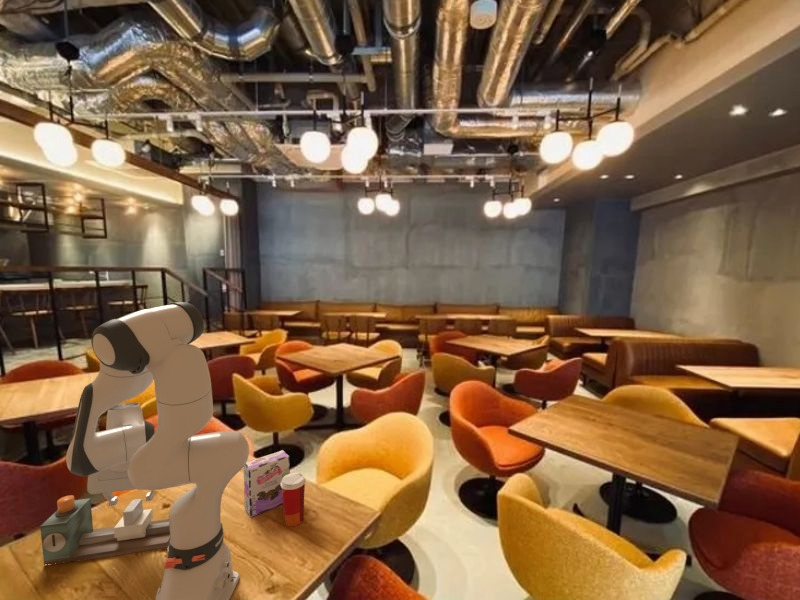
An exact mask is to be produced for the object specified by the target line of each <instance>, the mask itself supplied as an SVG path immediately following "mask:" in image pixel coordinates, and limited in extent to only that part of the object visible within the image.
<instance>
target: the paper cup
mask: <svg viewBox="0 0 800 600" xmlns="http://www.w3.org/2000/svg"><path fill="white" fill-rule="evenodd" d="M306 482H307V481H306V478H305V475H303V474H302V473H300V472H292V473H291V472H290V474H288V475H286V476H284V477H283V479H282V481H281V484H280V485H281V488H282V496H283V504H282V505H283V515H284V521H285V525H286V526H288V527H296V526H298V525H301V523H303V521H304V516H305V515H304V513H305V489H306V488H305V487H306Z"/></svg>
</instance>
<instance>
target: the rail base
mask: <svg viewBox="0 0 800 600" xmlns="http://www.w3.org/2000/svg"><path fill="white" fill-rule="evenodd" d="M74 500H75V508H74V509H72V510H71V511H69V512H66V513H58V509H57V510H56V511H55V512H54V513H52V514H51V516H50V517H48V518H47V519H46V520H45V521H44V522H43V523H42V524H40V527H39V528H40V536H41V537H40V539H41V549H42V558H43V559H42V561H43V566H44V565H45V564H47V565H48V564H55V563H56V565H59V564H58V563H62V564H64V563H63V562H69V563H71V562H70V561H75V562H79V561H78V560H82V561H86V559H88V560H93V559H94V558H95V559H100V558H107V557H108V558H109V557H113V556H114V557H115V556H119V555H126V554H132V553H139V552H146V551H151V550H152V551H153V550H157V549H166V547H167V548H168V545H169V540H170V527H169V518H167V519H166V518H165V519H160V520H153V521H152V520H151V524H150V525H148V526H147V528H146V536H145V537H141V538H134V539H128V540H121V541H117V538H115V536H114V527H115V526H111V527H101V528H95V529H94V525H93V524H94V522H93V513H92V502H91V501H92V500H91V497H90V498H83V499H82V498H81V499H74Z"/></svg>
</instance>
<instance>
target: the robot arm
mask: <svg viewBox="0 0 800 600" xmlns="http://www.w3.org/2000/svg"><path fill="white" fill-rule="evenodd" d="M204 324H205V323H204V319H203V316H202V314H201V312H200V311H199V310H198V308H197V307H196V306H194V305H193V304H192V303H189V302H187V301H186V302H185V301H178V302H176V301H175V302H170V303H168V304H166V305H160V306H155V307H151V308H145V309H141V310H137V311H135V312H134V311H133V312H131V313H128V314H125V315H123V316H120V317H119V318H113V319H110V320H107V321H106V322H104V323H102V324H100V325H99V326H97V327H96V328H95V329H94V330H93V332H92V335H91V347H92V348H91V349H92V351H93V353H94V354H95V356H96V358H97V359H98V361H99V372H98V374H97V376H96V377H95V378H94V380H93V381H91V382H90V383H88V384H87V385H86V386H85V387H84V388H83V390H82V391H81V395H80V398H79V402H78V406H77V411H76V414H75V415H76V416H75V421H74V426H73V431H72V437H71V440H70V442H69V443H70V444H69V446H68V449H67V452H66V457H65V459H66V460H65V461H66V466H67V469H68V470H69V472H70V473H71V474H73V475H76V476H79V477H83V478H85V477H87V485H86V486H87V492H88V493H89V494H90V496H91V495H99V494H102V496H103V497H104V499H106V500H107V502H108V506H109V507H111V506H116V505H117V504H118V503H119V500H118V496H115V495H114V494H113V493H116V492H124V491H133V490H139V491H150V492H147V494H146V495H145V502H150V501H153V499H154V497H155V493H154V492H155V491H157V490H158V491H159V490H166V489H170V488H177V487H179V486H184V485H185V486H187V485H191V484H193V485H195V486H193V487H192V488H191V489H189V490H188V491H186V492H185V493H183V494H182V495H180V497H178V498H177V499H176V501H175V502H174V503H173V504H172V505H171V508H170V510H169V513H168V519H169V527H170V540H169V545H168V547H167V557H166V558H165V562H164V571H163V577H162V582H161V584H160V586H159V587H158V589H157V590H156V595H155V598H154V600H230V599H231V597H232V595H233V593H234V591H235V589H236V586H237V584H238V582H239V581H240V574H239V572H237V571H235V570H234V569H233V562H232V553H231V548H230V547H229V546H228V545H227V543H225V541H224V528H223V523H222V522H221V508H222V507H221V506H222V505H221V504H222V497H223V495H224V494H223V493H224V492H225V489H226V487H227V486H228V484H229V483H230V481H231V480H232V479H233V478H234V477H235V475H237V474H238V473H239V472H241V470H243V469H244V465H245V464H246V462H248V458H249V455H250V446H249V442H248V439H247V438H246V436H245V435H244V434H243V433H242V432H240V431H231V430H229V431H226V430H225V431H224V430H220V431H214V432H208V433H201V434H198V433H199V432H200V431H202V430H203V429H204V428H205V427H206V426H207V425H208V424H209V423H210V421H211V420H212V418H213V415H214V404H213V403H214V402H213V401H214V399H213V389H212V381H211V380H212V379H211V374H210V369H209V365H208V362H207V359H206V356H205V353H204V351H202V349H200V348H199V346H196V345H193V344H191V343H193V342H195V341H196V340H197V339H199V338H200V337H201V336H202V334H203V333H204V329H205V328H204ZM153 383H154V392H155V393H154V394H155V400H156V409H157V410H156V411H157V425H156V429H155V425H154V424H153V423H151V422H149V421H148V420H146V419H144V414H143V409H142V407H141V404H140V403H138V402H127V401H129V400H131V399H135V398H137V396H140V395H141V394H142V393H144V392H145V391H146V390H147V389H149V388H150V386H151V385H152V384H153ZM125 402H127V403H125ZM105 412H107V413H106V423H105V424H106V426H105V427H106V428H105V429H106V430H101V431H96V430H97V426H98V421H99V418H100V417H101V415H103V414H104V413H105Z"/></svg>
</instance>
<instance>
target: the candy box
mask: <svg viewBox="0 0 800 600" xmlns="http://www.w3.org/2000/svg"><path fill="white" fill-rule="evenodd" d="M290 465H291V464H290V455H288V454H287V453H286V451H284V449H282V450H279V451H277V452H274V453H270V454H267V455H264V456H260V457H258V458H254V459H251V460H247V462H246V464H245V465H244V467H243V487H244V488H243V490H244V491H243V493H244V509H245V511H246V512H247V514H248V516H249V517H250V518H253V517H256V516H257V515H259V514H262V513H265V512H267V511H269V510H272V509H274V508H277V507H279V506H281V505H283V496H282V488H281V485H280V484H281V481H282V479H283V477H284V476H286V475H288V474H291V472H290V471H291V470H290V468H291V467H290Z"/></svg>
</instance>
